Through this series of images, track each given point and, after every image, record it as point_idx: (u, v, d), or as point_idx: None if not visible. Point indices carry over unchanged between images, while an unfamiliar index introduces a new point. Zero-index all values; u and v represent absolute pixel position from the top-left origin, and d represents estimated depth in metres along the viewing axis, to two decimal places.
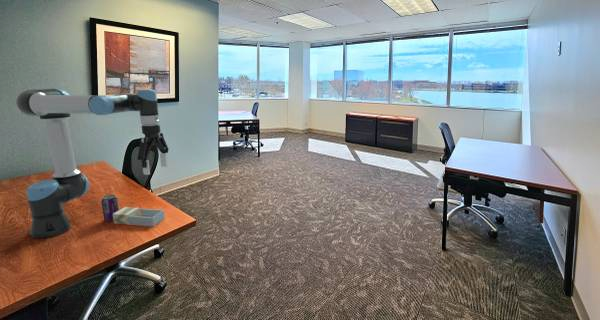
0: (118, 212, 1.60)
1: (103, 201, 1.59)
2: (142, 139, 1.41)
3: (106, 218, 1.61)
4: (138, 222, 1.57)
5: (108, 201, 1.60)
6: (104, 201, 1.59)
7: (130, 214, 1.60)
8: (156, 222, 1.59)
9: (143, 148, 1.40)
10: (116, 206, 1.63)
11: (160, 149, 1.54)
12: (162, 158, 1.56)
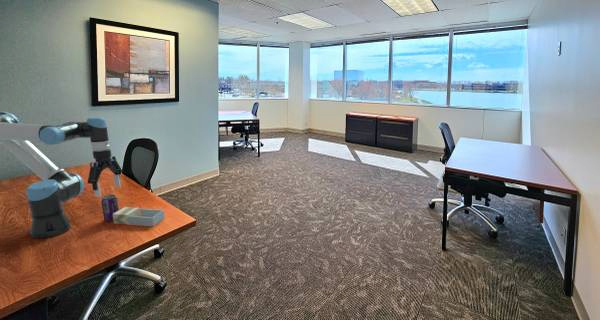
0: (118, 212, 1.60)
1: (103, 201, 1.59)
2: (92, 164, 1.51)
3: (106, 218, 1.61)
4: (138, 222, 1.57)
5: (108, 201, 1.60)
6: (104, 201, 1.59)
7: (130, 214, 1.60)
8: (156, 222, 1.59)
9: (93, 172, 1.51)
10: (116, 206, 1.63)
11: (113, 171, 1.65)
12: (116, 179, 1.67)
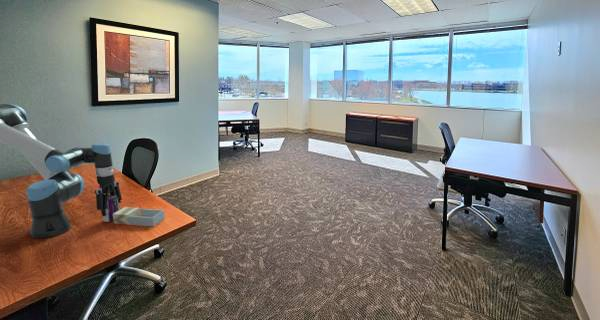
0: (118, 212, 1.60)
1: None
2: (97, 192, 1.55)
3: None
4: (138, 222, 1.57)
5: (108, 201, 1.60)
6: None
7: (130, 214, 1.60)
8: (156, 222, 1.59)
9: (100, 200, 1.55)
10: (116, 206, 1.63)
11: None
12: None
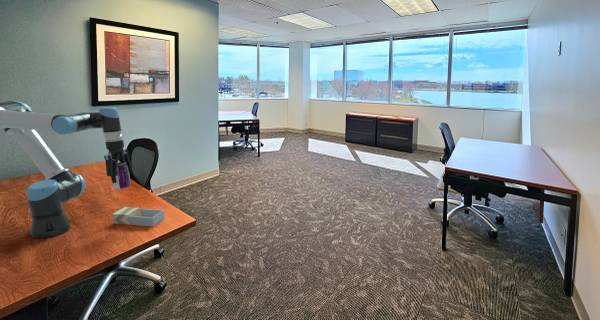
0: (118, 212, 1.60)
1: None
2: (106, 157, 1.49)
3: None
4: (138, 222, 1.57)
5: (118, 167, 1.54)
6: None
7: (130, 214, 1.60)
8: (156, 222, 1.59)
9: (109, 165, 1.50)
10: (126, 173, 1.57)
11: None
12: None
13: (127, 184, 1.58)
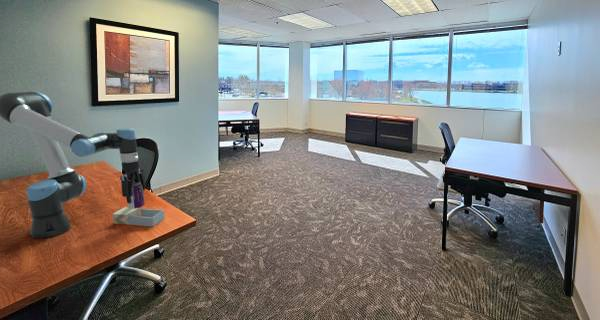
0: (118, 212, 1.60)
1: None
2: (122, 178, 1.51)
3: None
4: (138, 222, 1.57)
5: (133, 188, 1.56)
6: None
7: (130, 214, 1.60)
8: (156, 222, 1.59)
9: (125, 186, 1.51)
10: (141, 193, 1.59)
11: None
12: None
13: (141, 204, 1.59)
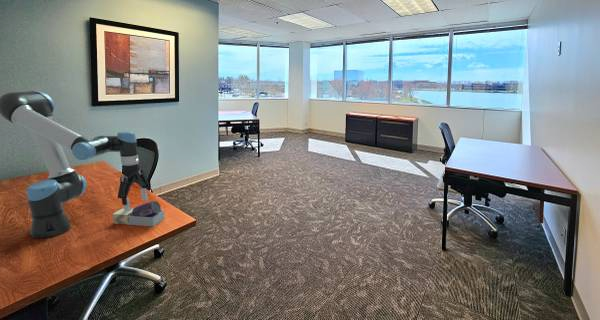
0: (118, 212, 1.60)
1: (149, 209, 1.56)
2: (122, 179, 1.51)
3: (135, 215, 1.58)
4: (138, 222, 1.57)
5: (152, 213, 1.56)
6: (150, 210, 1.56)
7: (130, 214, 1.60)
8: (156, 222, 1.59)
9: (123, 187, 1.50)
10: None
11: (141, 185, 1.64)
12: (143, 193, 1.66)
13: None
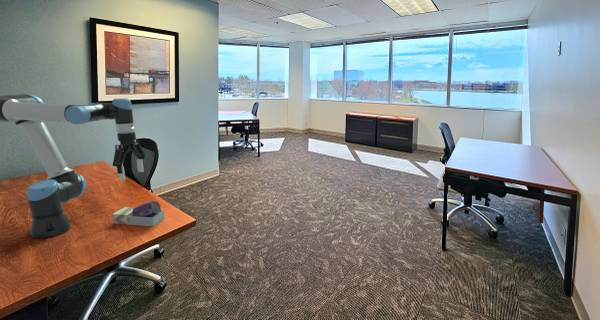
0: (118, 212, 1.60)
1: (149, 209, 1.56)
2: (117, 146, 1.47)
3: (135, 215, 1.58)
4: (138, 222, 1.57)
5: (152, 213, 1.56)
6: (150, 210, 1.56)
7: (130, 214, 1.60)
8: (156, 222, 1.59)
9: (118, 155, 1.46)
10: None
11: (136, 155, 1.61)
12: (139, 164, 1.62)
13: None
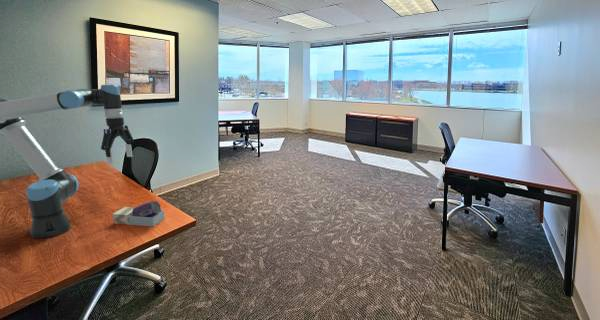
0: (118, 212, 1.60)
1: (149, 209, 1.56)
2: (105, 130, 1.52)
3: (135, 215, 1.58)
4: (138, 222, 1.57)
5: (152, 213, 1.56)
6: (150, 210, 1.56)
7: (130, 214, 1.60)
8: (156, 222, 1.59)
9: (106, 139, 1.52)
10: None
11: (125, 140, 1.66)
12: (127, 149, 1.68)
13: None
